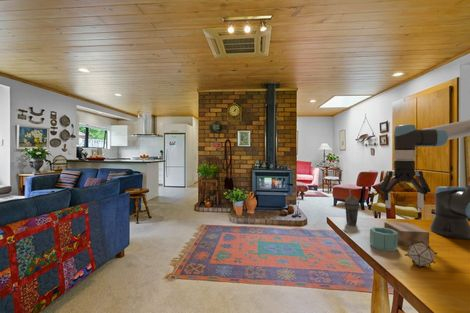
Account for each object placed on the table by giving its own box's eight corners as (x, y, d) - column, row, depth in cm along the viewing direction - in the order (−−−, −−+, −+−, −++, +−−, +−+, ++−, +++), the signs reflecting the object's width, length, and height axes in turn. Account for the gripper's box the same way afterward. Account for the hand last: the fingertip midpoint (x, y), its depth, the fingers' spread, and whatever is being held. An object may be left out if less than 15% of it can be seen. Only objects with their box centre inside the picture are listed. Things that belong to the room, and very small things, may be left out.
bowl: (389, 243, 100) (389, 227, 100) (401, 252, 91) (401, 235, 91) (366, 242, 101) (367, 226, 101) (377, 251, 92) (377, 234, 92)
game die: (415, 276, 81) (395, 251, 82) (419, 260, 86) (400, 237, 88) (444, 274, 74) (422, 246, 76) (446, 256, 80) (426, 231, 81)
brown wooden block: (409, 235, 109) (409, 222, 109) (429, 246, 97) (429, 232, 96) (384, 234, 111) (384, 221, 111) (400, 245, 98) (400, 231, 98)
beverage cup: (361, 227, 122) (361, 189, 122) (346, 226, 123) (346, 188, 123) (356, 223, 129) (357, 187, 129) (342, 222, 130) (343, 187, 130)
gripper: (428, 159, 106) (428, 206, 106) (370, 159, 108) (370, 205, 108) (441, 160, 98) (441, 210, 99) (379, 160, 100) (379, 209, 101)
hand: (404, 207), depth 103 cm, fingers open, 13 cm apart
